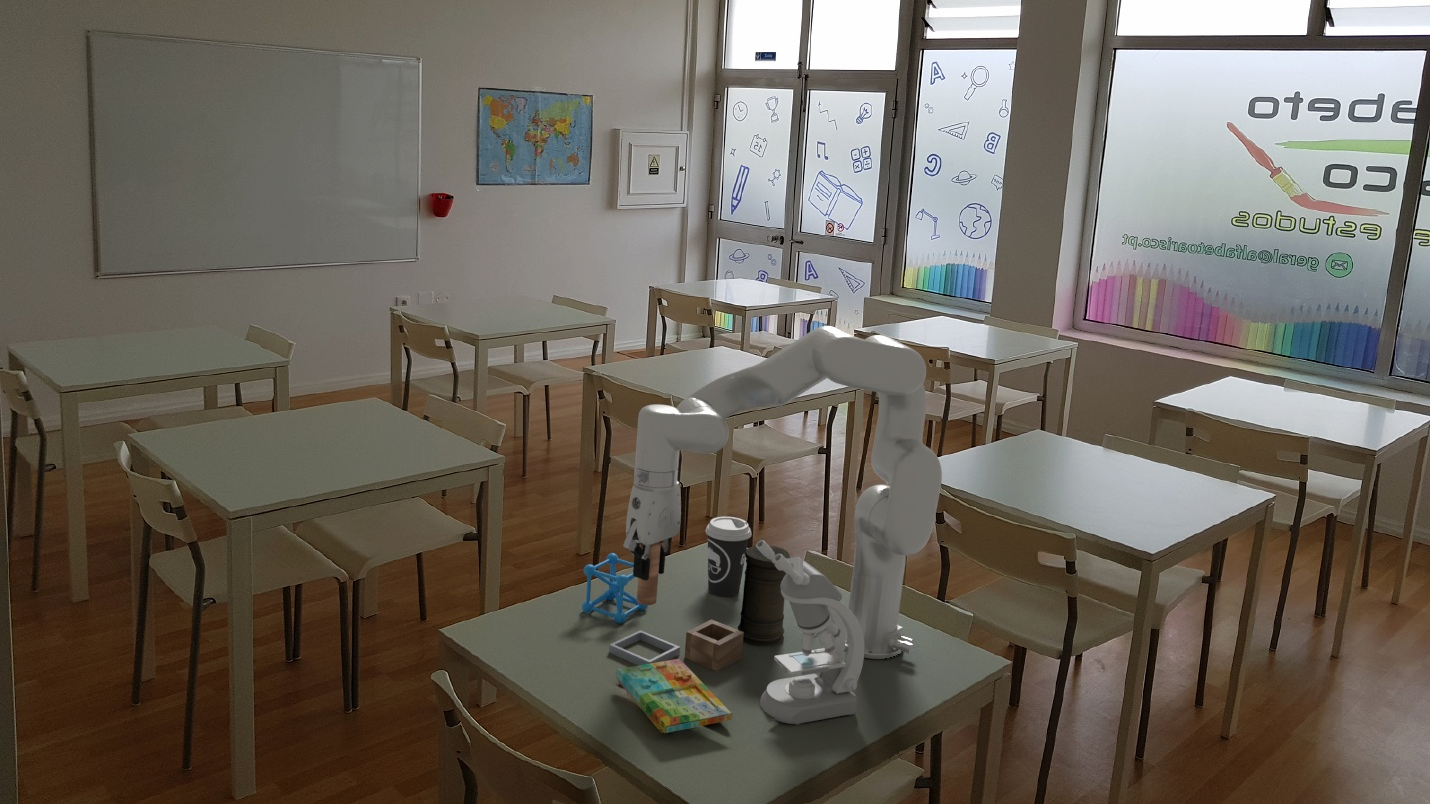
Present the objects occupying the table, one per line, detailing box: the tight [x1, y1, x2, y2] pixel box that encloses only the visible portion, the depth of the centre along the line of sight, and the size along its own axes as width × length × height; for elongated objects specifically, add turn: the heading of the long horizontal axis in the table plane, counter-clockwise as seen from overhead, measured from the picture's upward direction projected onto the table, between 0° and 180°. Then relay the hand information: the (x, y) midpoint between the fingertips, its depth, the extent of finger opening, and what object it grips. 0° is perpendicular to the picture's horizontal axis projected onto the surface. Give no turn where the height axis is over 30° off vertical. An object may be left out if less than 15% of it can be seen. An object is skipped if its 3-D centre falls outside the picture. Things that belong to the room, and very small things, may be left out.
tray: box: [608, 629, 681, 666], centre depth 204 cm, size 10×8×2 cm
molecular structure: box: [581, 552, 649, 624], centre depth 222 cm, size 10×10×10 cm
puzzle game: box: [615, 658, 733, 734], centre depth 187 cm, size 12×5×20 cm
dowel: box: [636, 542, 661, 606], centre depth 200 cm, size 4×4×11 cm
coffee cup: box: [705, 516, 752, 598], centre depth 235 cm, size 10×10×15 cm
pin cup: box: [684, 619, 744, 672], centre depth 204 cm, size 7×7×6 cm
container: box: [737, 544, 791, 648], centre depth 213 cm, size 9×9×18 cm
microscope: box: [755, 539, 865, 726], centre depth 187 cm, size 11×19×30 cm, turn 116°
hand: (648, 573), depth 200 cm, fingers closed on dowel, 3 cm apart
